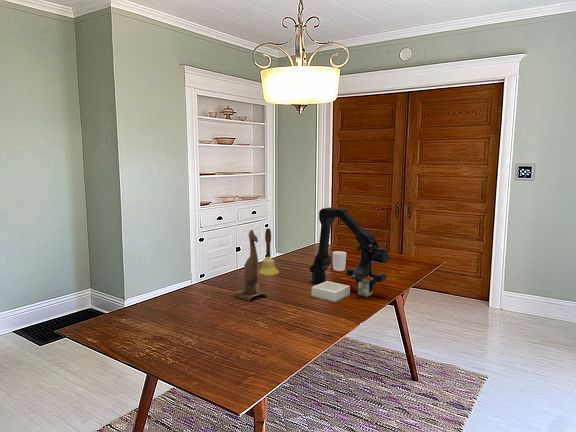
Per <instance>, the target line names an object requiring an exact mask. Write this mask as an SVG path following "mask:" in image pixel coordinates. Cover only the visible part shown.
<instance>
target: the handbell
mask: <svg viewBox="0 0 576 432" xmlns="http://www.w3.org/2000/svg"><path fill="white" fill-rule="evenodd" d="M264 240H265V247H266V249H265V252H266V253H265V255H266V257H265V258H264V259H262V263H261V264H262V266H261V268H260V269H259V273H260V274H263V275H262V276H276V275H278V274H279V273H280V271H279V270H278V269H277V268H276V266H275V260H274V259H273V258H271V243H272V242H271V241H272V232H271V228H266V229H265V234H264ZM260 274H259V275H260ZM275 274H276V275H275Z"/></svg>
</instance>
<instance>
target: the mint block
mask: <svg viewBox="0 0 576 432" xmlns="http://www.w3.org/2000/svg"><path fill="white" fill-rule="evenodd" d="M357 289H358V290H357V293H358V295H360V296H363V297H367V298H368V297H369V296H371V295H373V293H374V291H373V290H374V289H373V290H372V292H371V293H370V292H369V289H370V282H369V280H365V279H363V280H362V281H360V282H358V285H357Z"/></svg>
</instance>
